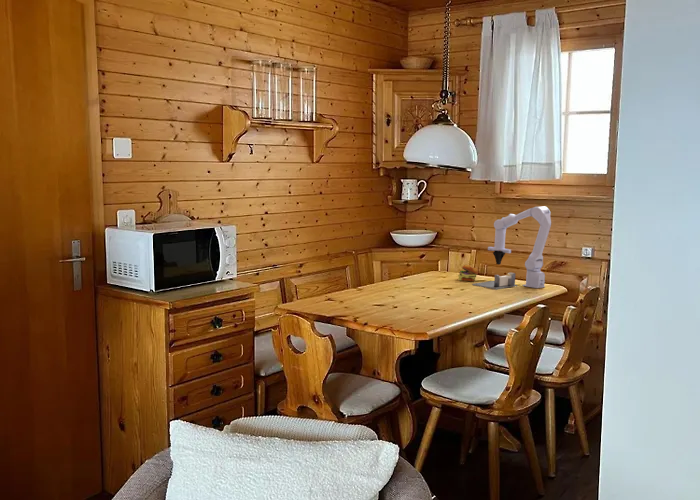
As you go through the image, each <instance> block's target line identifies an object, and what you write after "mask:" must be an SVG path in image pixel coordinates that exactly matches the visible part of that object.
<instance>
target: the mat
mask: <svg viewBox="0 0 700 500" xmlns="http://www.w3.org/2000/svg"><path fill="white" fill-rule="evenodd" d="M472 286H475V287H480V288H485V287H486V289H490V290H496V291H497V290H504V289H509V288H516V287H518V284H515V285H514V286H508V285H506V286H499V287H494V280H490V281H483V282H477V283H472ZM515 286H516V287H515Z"/></svg>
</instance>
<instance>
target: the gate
mask: <svg viewBox="0 0 700 500" xmlns="http://www.w3.org/2000/svg"><path fill="white" fill-rule="evenodd" d="M509 278H512V276H510V274H508V273H506V275H499V286H506V285H508V279H509Z"/></svg>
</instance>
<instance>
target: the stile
mask: <svg viewBox="0 0 700 500" xmlns="http://www.w3.org/2000/svg"><path fill="white" fill-rule="evenodd" d="M507 274H510V276H512V278H509V279H508V286H514V285H516V273H515V272H507Z"/></svg>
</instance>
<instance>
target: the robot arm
mask: <svg viewBox="0 0 700 500" xmlns="http://www.w3.org/2000/svg"><path fill="white" fill-rule="evenodd" d="M528 217H530V218H531V217H532V218H533V219H534V220H535V221H537V222H538V224H539V229H538V232H537V235H536V237H535V238H536V239H535V241H534V244H533V249H532V252H531V253H530V254H529V255H528V258H527V259H526V260H525V262H524V266H525V269H526V277H525V279H526V280H525V284H522V286H523V287H528V288H533V289H540V288H541V289H542V288H545V287H546V286H545V283H546V281H545V280H546V278H545V277H546V275H545V272H543V271H541V269H542V267H543V266H544V256H543V252H544V249H545V247H546V242H547V240H548V237H549V233H550V230H551V226H552V219H551V218H552V217H551V211H550V208H548V207H547V206H544V205H543V206H534V207H531V208H530V207H529V208H528V209H526V210H524V211H522V212H519V213H517V214H514V213H509V214H508V215H507V216H505V217H504V216H503V217H501V219H498V218H497V219H496V220H494V223H493V227H494V229H495V233H494V234H495V235H494V246H488V247H487V251H493V252H492V254H493V256H494V259H495V263H496V265H501V263H502V260H503V258H504V256H505V255H506V254H511V253H512V249H509V248H505V247H506V232H507V229H508V228H509V227H511V226H514V225H516V224H518V222H519V221H520V220H523V219H525V218H528Z"/></svg>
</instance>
